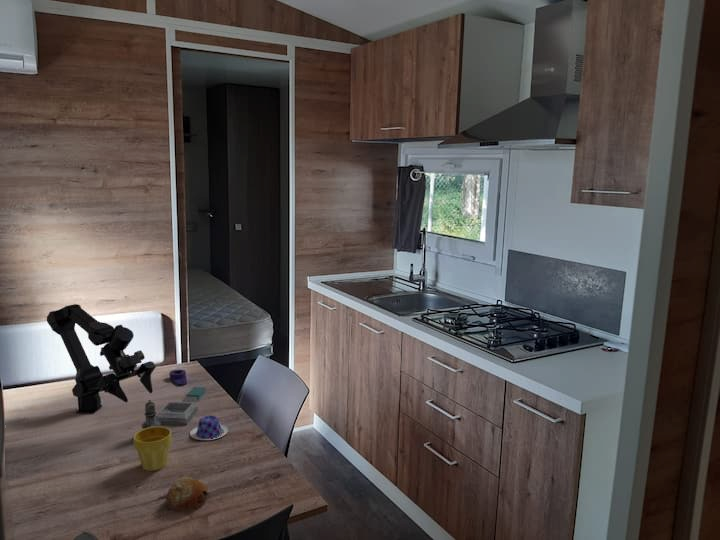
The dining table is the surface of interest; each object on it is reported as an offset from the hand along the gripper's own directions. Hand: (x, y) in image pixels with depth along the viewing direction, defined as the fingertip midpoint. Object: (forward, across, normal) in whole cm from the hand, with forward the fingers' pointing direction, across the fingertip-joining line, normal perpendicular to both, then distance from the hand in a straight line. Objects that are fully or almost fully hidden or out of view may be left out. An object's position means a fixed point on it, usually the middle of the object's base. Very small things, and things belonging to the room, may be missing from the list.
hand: (139, 397), depth 189 cm
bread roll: (+40, -18, -23) cm, 50 cm away
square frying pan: (+5, +21, +11) cm, 25 cm away
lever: (-10, +37, +27) cm, 47 cm away
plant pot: (+24, -12, -7) cm, 28 cm away
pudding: (+22, +12, -5) cm, 25 cm away
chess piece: (+12, 0, +5) cm, 13 cm away
